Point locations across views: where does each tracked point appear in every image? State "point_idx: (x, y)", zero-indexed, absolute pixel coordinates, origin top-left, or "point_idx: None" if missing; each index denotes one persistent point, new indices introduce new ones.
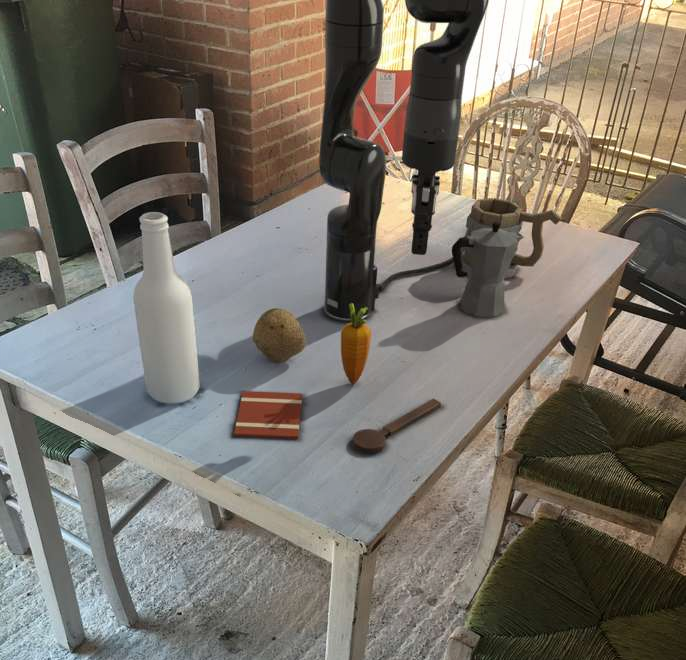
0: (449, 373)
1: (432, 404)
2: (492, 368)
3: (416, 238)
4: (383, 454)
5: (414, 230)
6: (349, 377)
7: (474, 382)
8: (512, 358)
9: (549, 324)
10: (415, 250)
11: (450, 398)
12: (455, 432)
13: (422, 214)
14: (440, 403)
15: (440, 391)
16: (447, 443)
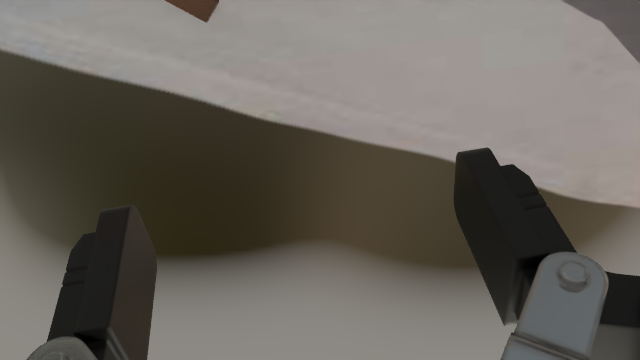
0: (370, 15)
1: (189, 3)
2: (413, 103)
3: (58, 312)
4: None
5: (75, 331)
6: None
7: (343, 75)
8: (463, 135)
9: (613, 184)
10: (79, 248)
11: (255, 33)
12: (118, 63)
13: (493, 266)
14: (204, 21)
15: (279, 6)
16: (65, 53)
